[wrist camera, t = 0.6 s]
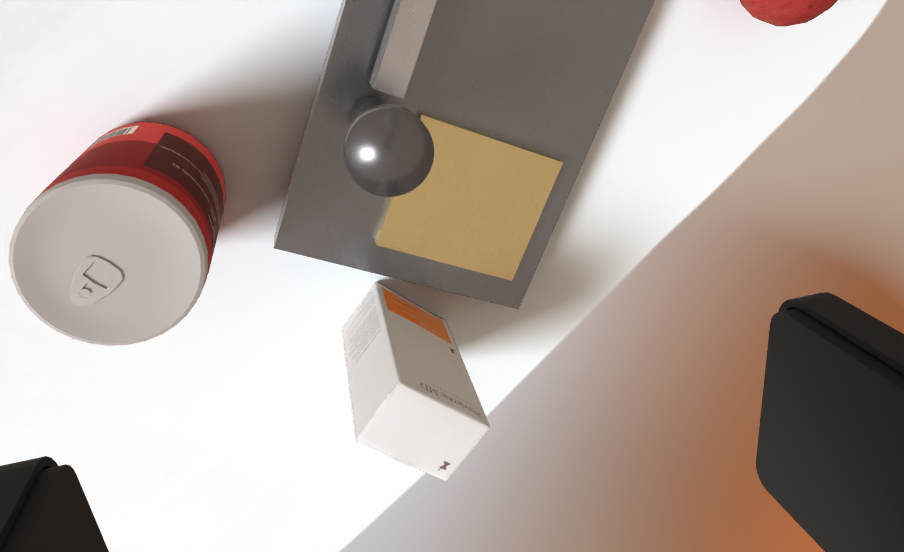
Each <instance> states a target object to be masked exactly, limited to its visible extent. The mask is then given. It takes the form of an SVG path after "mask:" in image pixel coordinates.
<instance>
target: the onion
mask: <svg viewBox="0 0 904 552" xmlns="http://www.w3.org/2000/svg"><path fill="white" fill-rule="evenodd" d="M836 1H837V0H740V2H741V4H742V5H743V7H744V8H745V9H746V10H747V11H748V12H749V13H750V14H751V15H752V16H753V17H754V18H757V19H759V20H761V21H764V22H767V23H770V24H773V25H775V26H790V25H795V24H801V23H806V22H808V21H810V20H812V19H814V18H815V17H817V16H819V15H820V14H822V13H823V12H825V11H826V10H828V9H829V8H831V7H832V6H833V5H834V4H835V3H836Z"/></svg>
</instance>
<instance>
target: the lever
mask: <svg viewBox="0 0 904 552" xmlns="http://www.w3.org/2000/svg"><path fill="white" fill-rule="evenodd" d="M436 1H437V0H395V2H394V5H393V8H392V11H391V14H390V18H389V21H388V24H387V27H386V30H385V33H384V37H383V40H382V43H381V46H380V49H379V53H378V56H377V59H376V62H375V65H374V68H373V72H372V75H371V78H370V81H369V82H370V84H371V86H372V87H373V89H375V90H378V91H381V92H384V93H387V94H390V95H393V96H396V97H399V98H402V99H404V96H405V93H406V90H407V87H408V84H409V81H410V79H411V76H412V73H413V70H414V67H415V64H416V61H417V58H418V55H419V52H420V49H421V46H422V43H423V40H424V37H425V34H426V31H427V28H428V25H429V22H430V19H431V16H432V13H433V10H434V7H435V4H436Z"/></svg>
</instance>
